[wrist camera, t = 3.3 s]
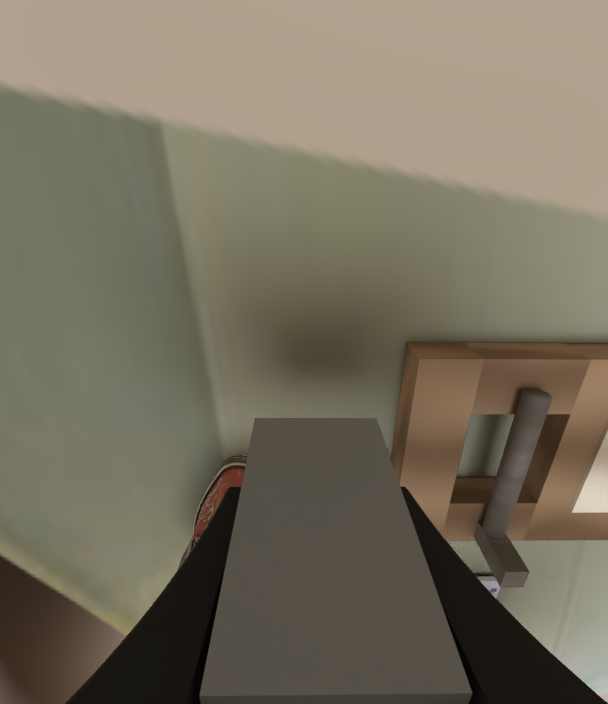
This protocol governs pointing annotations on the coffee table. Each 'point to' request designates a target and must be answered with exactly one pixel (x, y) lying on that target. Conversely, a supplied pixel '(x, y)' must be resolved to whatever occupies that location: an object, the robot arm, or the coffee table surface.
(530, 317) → the coffee table surface
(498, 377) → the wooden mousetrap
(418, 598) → the gray rectangular block
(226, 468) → the lighter
